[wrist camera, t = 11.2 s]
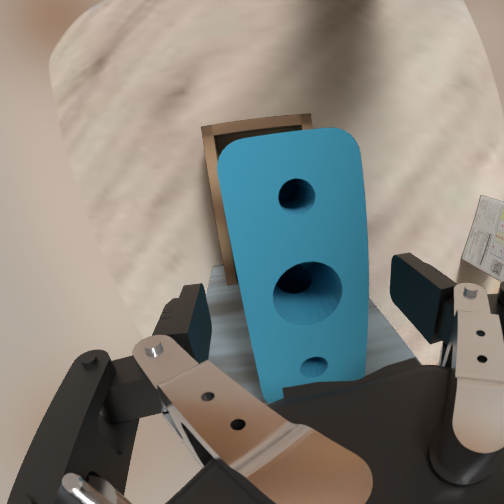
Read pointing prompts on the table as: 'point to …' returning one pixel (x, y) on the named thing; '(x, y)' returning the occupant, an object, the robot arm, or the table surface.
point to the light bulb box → (487, 238)
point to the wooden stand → (226, 281)
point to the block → (300, 253)
